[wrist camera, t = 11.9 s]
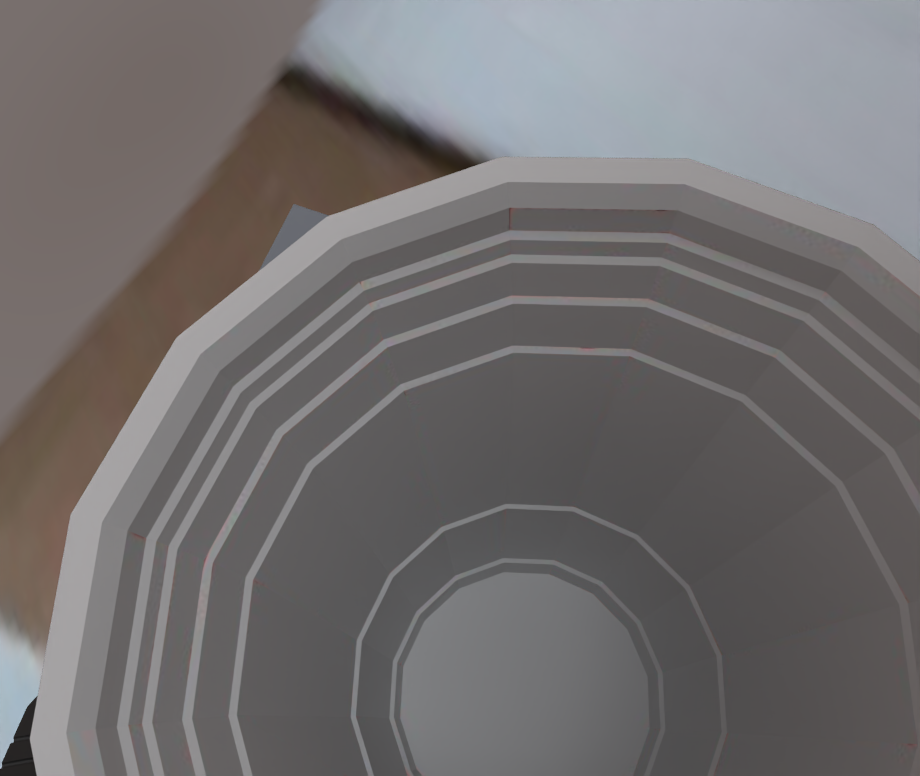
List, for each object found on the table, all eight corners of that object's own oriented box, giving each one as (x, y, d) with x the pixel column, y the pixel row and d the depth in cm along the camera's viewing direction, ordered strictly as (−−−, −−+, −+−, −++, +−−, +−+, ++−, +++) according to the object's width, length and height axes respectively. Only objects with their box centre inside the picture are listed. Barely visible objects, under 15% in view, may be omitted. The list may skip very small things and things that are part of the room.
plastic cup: (158, 766, 19) (-281, 780, 7) (462, 383, 22) (470, 1, 11) (594, 1147, 16) (903, 2006, 5) (859, 650, 20) (1390, 511, 8)
